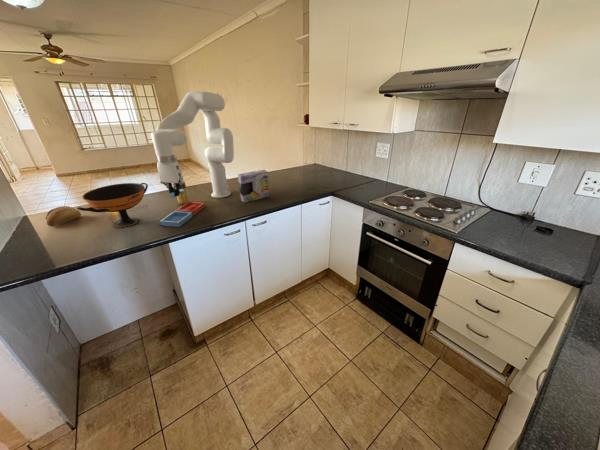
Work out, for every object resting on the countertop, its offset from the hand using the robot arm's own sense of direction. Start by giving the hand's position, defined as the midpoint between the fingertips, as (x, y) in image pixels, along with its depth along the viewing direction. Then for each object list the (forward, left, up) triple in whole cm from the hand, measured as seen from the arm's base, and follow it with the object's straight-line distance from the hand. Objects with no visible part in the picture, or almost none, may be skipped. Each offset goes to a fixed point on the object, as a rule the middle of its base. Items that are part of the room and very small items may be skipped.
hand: (175, 195), depth 125 cm
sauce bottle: (-22, -12, -15) cm, 29 cm away
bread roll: (+11, -60, -15) cm, 63 cm away
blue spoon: (-2, 0, 0) cm, 2 cm away
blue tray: (0, -2, -14) cm, 15 cm away
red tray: (-14, -2, -14) cm, 20 cm away
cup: (+7, -27, -15) cm, 32 cm away
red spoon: (-13, -2, -14) cm, 19 cm away
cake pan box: (-36, +29, -15) cm, 48 cm away
